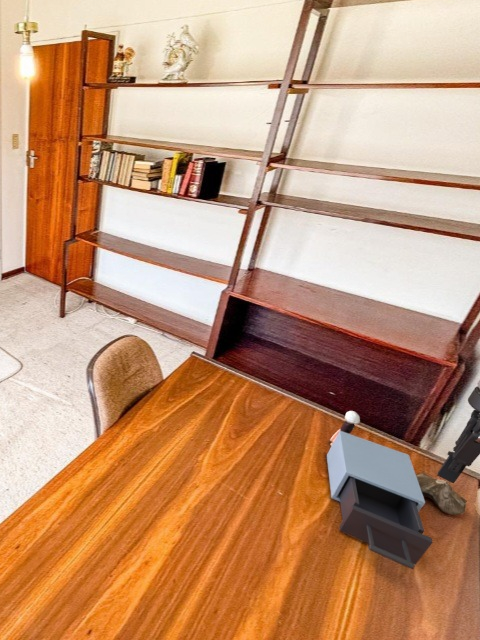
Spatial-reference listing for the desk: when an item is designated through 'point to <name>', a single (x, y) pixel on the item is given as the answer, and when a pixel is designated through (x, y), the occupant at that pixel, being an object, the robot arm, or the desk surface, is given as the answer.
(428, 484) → the fossilized seashell
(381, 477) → the cabinet
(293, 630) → the desk surface
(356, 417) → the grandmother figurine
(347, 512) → the drawer
